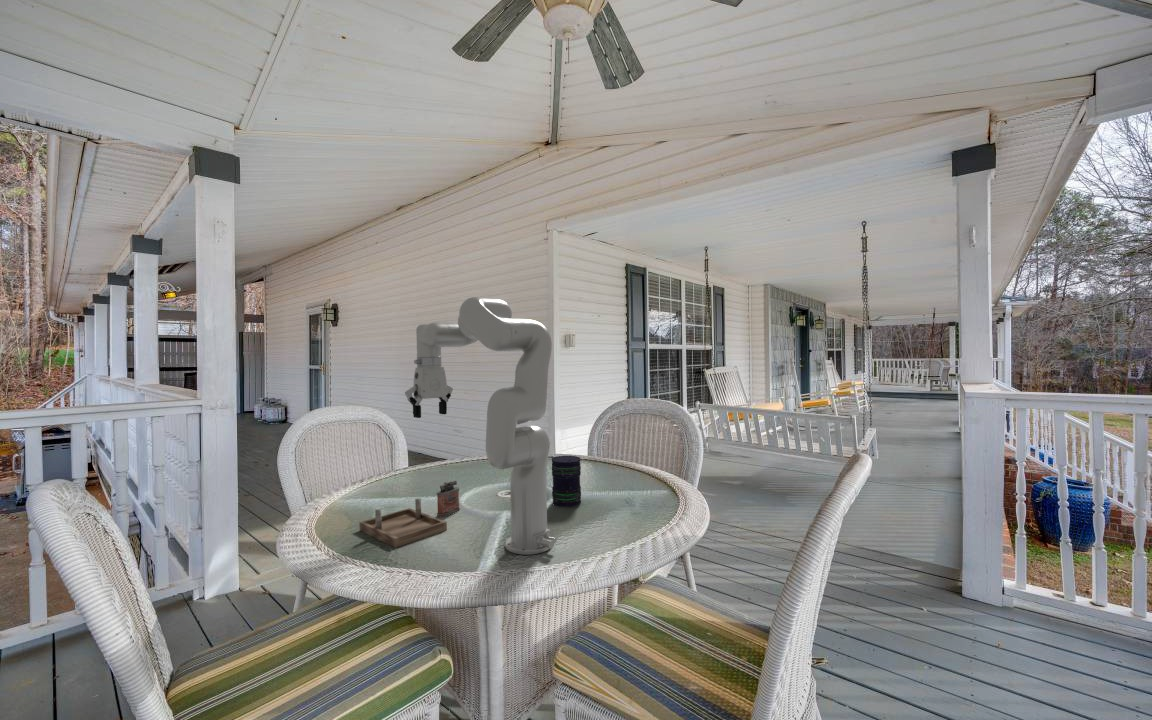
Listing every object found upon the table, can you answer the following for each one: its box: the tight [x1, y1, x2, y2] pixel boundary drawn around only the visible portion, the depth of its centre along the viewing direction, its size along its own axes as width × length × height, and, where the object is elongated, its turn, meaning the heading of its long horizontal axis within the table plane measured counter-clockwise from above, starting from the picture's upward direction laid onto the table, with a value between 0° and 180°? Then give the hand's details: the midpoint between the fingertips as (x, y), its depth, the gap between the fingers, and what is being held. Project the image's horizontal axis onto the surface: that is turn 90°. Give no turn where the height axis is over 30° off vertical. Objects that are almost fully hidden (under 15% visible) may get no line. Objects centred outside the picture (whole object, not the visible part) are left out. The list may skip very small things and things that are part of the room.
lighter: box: [436, 480, 461, 518], centre depth 156 cm, size 8×3×10 cm, turn 143°
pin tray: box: [359, 497, 448, 549], centre depth 141 cm, size 20×16×7 cm
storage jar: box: [551, 455, 582, 508], centre depth 164 cm, size 10×10×15 cm
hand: (430, 415), depth 157 cm, fingers open, 9 cm apart
